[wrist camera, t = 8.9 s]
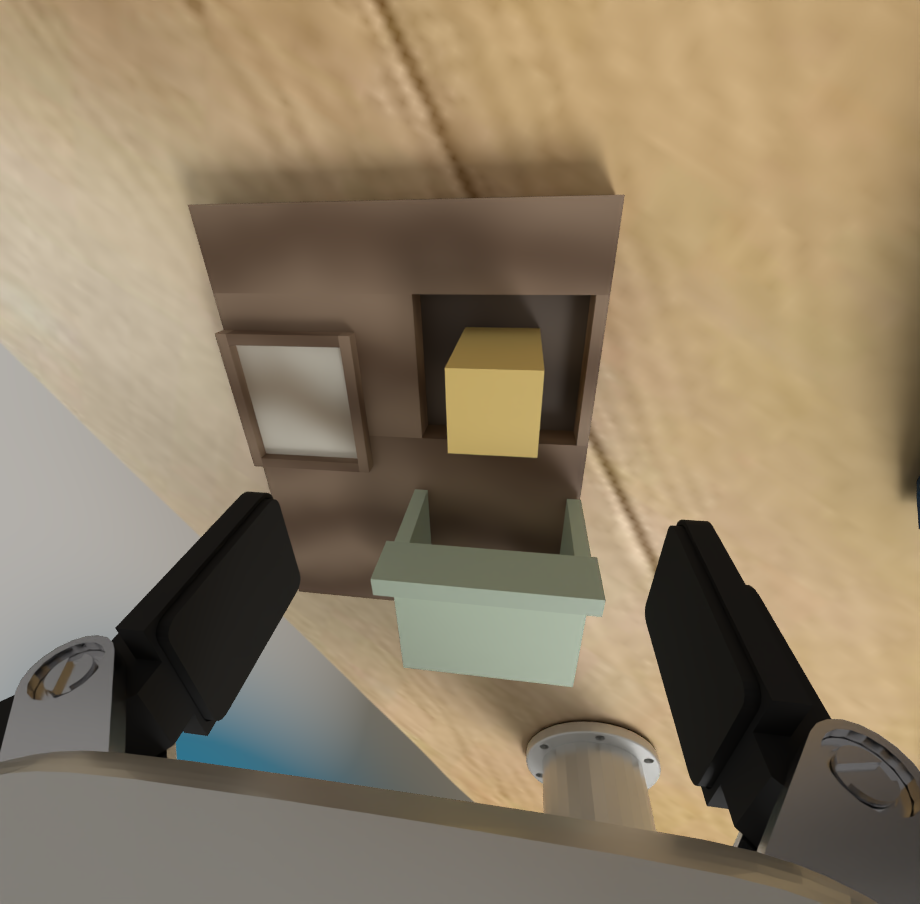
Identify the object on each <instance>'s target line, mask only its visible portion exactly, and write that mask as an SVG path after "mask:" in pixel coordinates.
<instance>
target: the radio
mask: <svg viewBox="0 0 920 904" xmlns="http://www.w3.org/2000/svg"><path fill="white" fill-rule="evenodd" d="M917 509H918V523H919V529H920V476H919V478H918V480H917Z"/></svg>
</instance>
